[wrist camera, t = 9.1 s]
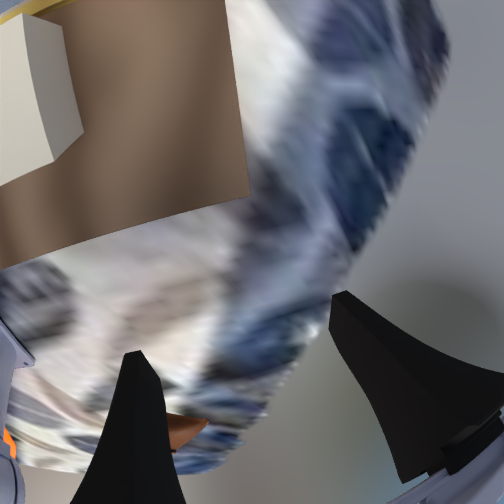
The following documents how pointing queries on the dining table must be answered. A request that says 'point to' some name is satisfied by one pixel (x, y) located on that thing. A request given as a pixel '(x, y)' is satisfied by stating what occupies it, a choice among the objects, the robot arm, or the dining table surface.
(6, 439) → the orange juice
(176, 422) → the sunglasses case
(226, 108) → the shelf board
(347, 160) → the dining table surface
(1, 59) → the carton
